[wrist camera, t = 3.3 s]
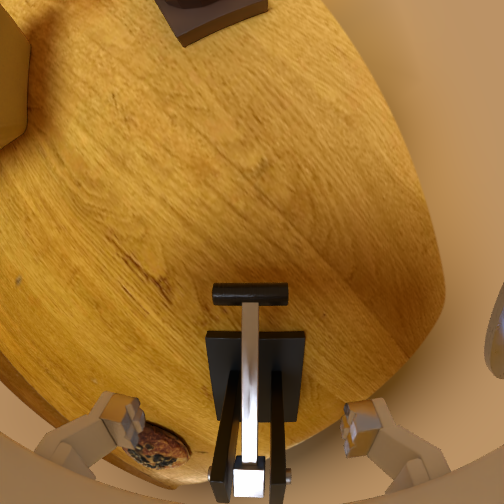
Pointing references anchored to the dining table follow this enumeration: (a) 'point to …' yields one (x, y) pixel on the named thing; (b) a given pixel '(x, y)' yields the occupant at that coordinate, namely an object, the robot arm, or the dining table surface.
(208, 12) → the button block
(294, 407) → the bracket
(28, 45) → the flower pot
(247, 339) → the lever
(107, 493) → the robot arm
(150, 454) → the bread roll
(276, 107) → the dining table surface
